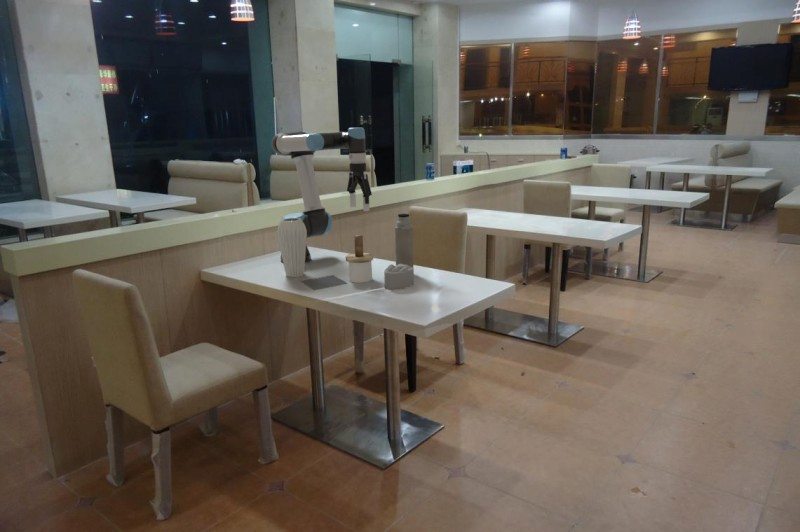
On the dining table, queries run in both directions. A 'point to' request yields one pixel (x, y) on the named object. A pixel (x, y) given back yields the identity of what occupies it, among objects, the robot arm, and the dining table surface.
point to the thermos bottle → (404, 241)
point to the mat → (323, 282)
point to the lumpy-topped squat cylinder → (398, 277)
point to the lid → (359, 252)
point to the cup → (360, 272)
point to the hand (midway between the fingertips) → (359, 209)
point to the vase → (292, 245)
